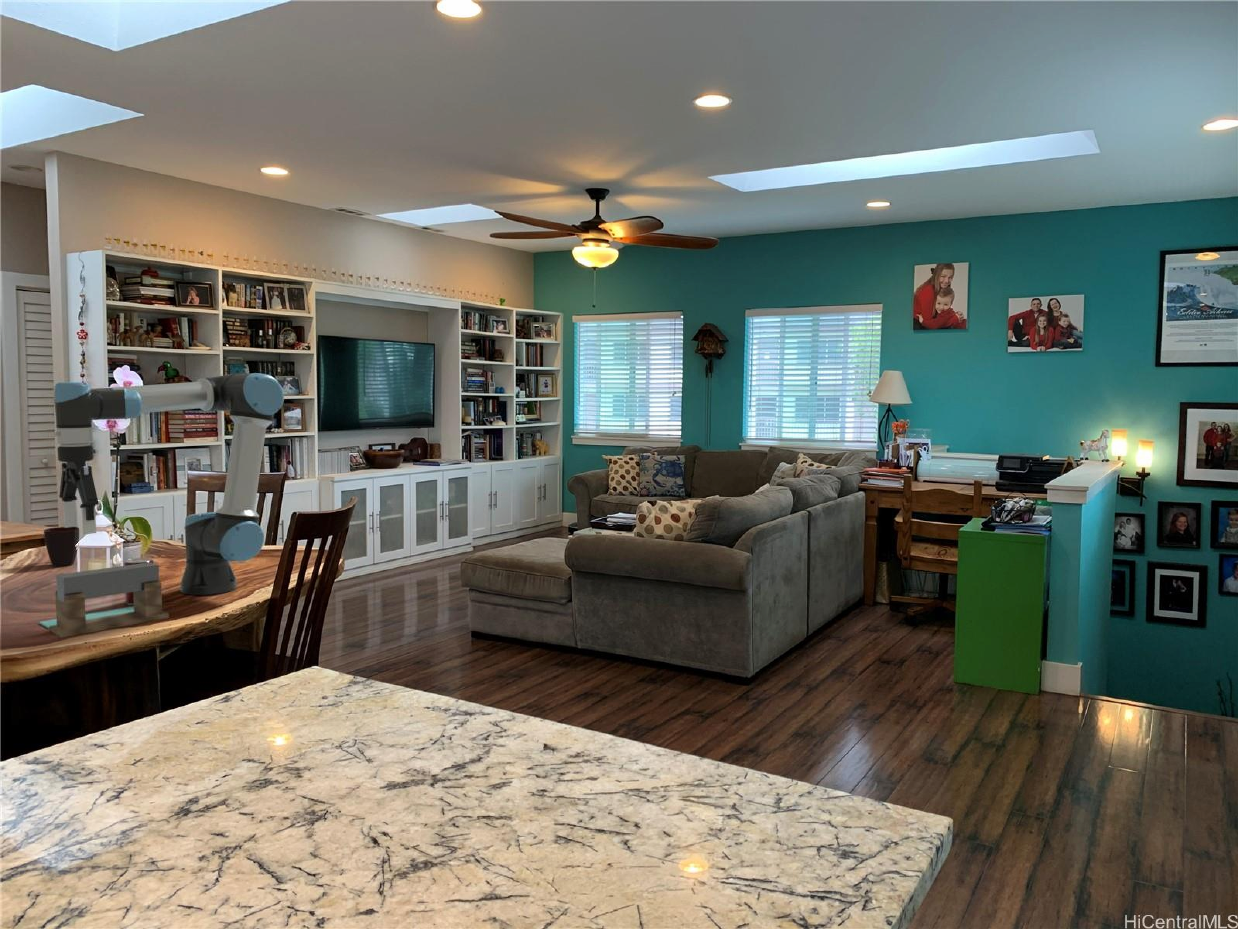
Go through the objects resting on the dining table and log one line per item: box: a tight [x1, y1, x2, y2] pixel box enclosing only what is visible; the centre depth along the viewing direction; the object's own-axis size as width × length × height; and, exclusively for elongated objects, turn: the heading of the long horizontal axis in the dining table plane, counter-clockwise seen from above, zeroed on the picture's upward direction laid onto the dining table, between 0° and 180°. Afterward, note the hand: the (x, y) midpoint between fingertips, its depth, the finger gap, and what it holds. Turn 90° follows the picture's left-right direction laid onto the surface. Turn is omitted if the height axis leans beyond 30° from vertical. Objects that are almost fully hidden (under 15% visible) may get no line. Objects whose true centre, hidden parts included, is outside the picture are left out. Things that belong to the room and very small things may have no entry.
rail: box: [56, 562, 160, 602], centre depth 227 cm, size 22×5×6 cm, turn 139°
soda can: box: [123, 557, 155, 606], centre depth 250 cm, size 7×7×12 cm
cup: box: [43, 526, 80, 568], centre depth 300 cm, size 10×14×12 cm
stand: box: [49, 580, 170, 638], centre depth 227 cm, size 25×8×10 cm, turn 139°
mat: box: [38, 605, 134, 630], centre depth 234 cm, size 24×7×1 cm, turn 139°
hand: (80, 530), depth 223 cm, fingers open, 13 cm apart
